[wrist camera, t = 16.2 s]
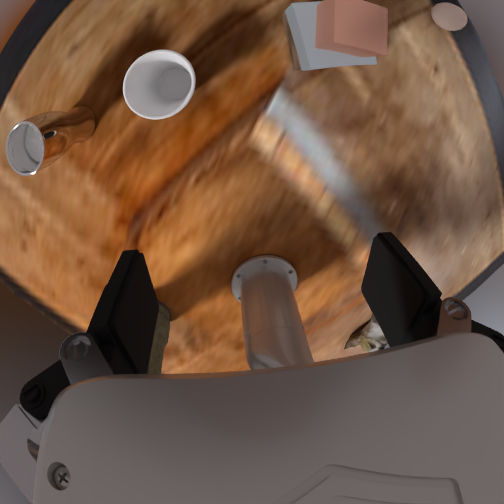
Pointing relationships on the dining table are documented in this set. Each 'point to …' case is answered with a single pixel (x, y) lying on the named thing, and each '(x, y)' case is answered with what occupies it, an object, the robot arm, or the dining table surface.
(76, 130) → the beer glass
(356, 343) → the ceramic sculpture
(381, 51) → the rust cube
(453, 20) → the egg
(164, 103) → the dixie cup
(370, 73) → the dining table surface
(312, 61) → the slate block
